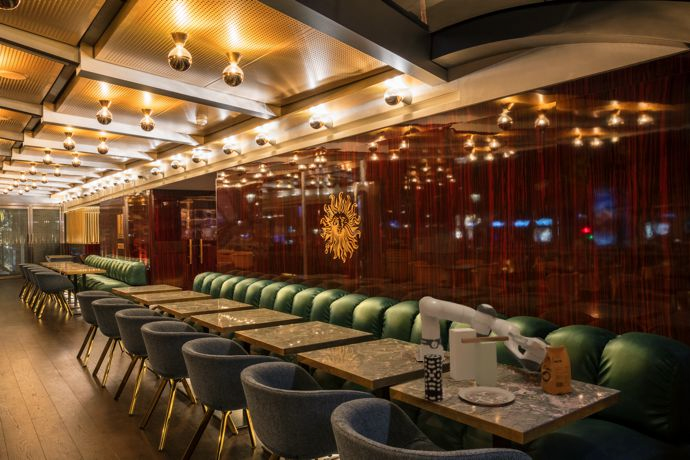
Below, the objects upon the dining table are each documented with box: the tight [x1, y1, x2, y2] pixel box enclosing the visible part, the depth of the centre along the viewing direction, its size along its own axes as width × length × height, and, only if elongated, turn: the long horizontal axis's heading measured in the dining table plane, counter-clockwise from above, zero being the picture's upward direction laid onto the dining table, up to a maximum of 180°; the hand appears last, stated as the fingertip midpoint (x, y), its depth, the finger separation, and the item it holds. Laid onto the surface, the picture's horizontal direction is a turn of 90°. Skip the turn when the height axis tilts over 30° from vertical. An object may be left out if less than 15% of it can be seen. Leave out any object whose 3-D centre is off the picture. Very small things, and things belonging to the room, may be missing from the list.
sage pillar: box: [475, 341, 498, 387], centre depth 254 cm, size 8×8×22 cm
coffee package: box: [540, 344, 572, 396], centre depth 240 cm, size 10×12×22 cm
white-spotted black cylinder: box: [423, 354, 444, 403], centre depth 232 cm, size 8×8×20 cm
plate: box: [458, 385, 516, 406], centre depth 232 cm, size 26×26×2 cm
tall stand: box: [448, 327, 476, 382], centre depth 266 cm, size 8×12×26 cm, turn 101°
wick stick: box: [461, 335, 509, 343], centre depth 254 cm, size 3×25×2 cm, turn 101°
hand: (513, 334), depth 256 cm, fingers open, 8 cm apart
